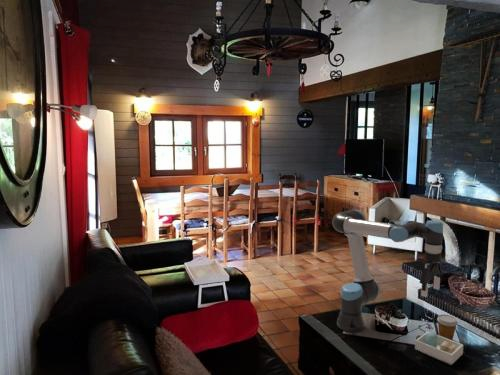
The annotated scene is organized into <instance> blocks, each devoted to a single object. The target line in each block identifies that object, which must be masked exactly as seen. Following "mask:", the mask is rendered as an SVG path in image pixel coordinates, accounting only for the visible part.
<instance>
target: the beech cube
mask: <svg viewBox="0 0 500 375" xmlns="http://www.w3.org/2000/svg"><path fill="white" fill-rule="evenodd" d="M455 347H456V345H454V344H451V343H449V342H446V341H445V342H443V343H442V344H440V350H442V351H445V352H447V353H450V354H451V353H453V352H454V351H455Z"/></svg>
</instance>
